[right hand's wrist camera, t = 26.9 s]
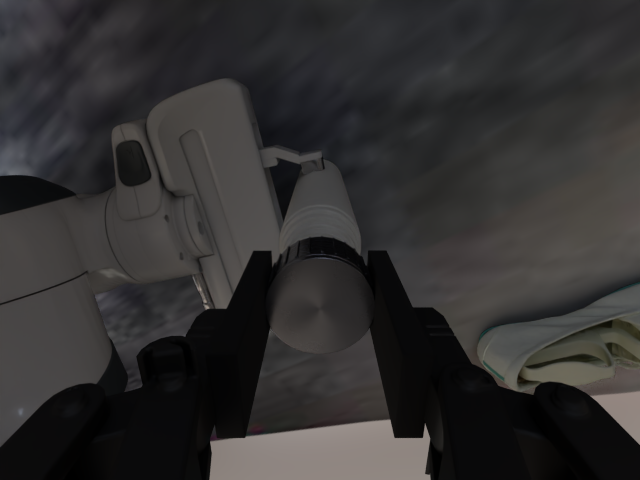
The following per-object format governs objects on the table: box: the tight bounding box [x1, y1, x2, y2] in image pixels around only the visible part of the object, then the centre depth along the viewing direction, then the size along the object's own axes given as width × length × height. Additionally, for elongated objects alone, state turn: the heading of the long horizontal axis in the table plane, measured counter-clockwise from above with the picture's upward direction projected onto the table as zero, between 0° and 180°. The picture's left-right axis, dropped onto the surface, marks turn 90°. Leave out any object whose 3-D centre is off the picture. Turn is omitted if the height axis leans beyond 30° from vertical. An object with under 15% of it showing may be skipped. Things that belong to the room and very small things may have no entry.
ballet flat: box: [477, 282, 640, 392], centre depth 37 cm, size 8×24×8 cm, turn 108°
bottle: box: [279, 159, 361, 255], centre depth 24 cm, size 4×4×23 cm
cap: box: [265, 236, 375, 354], centre depth 14 cm, size 4×4×2 cm
